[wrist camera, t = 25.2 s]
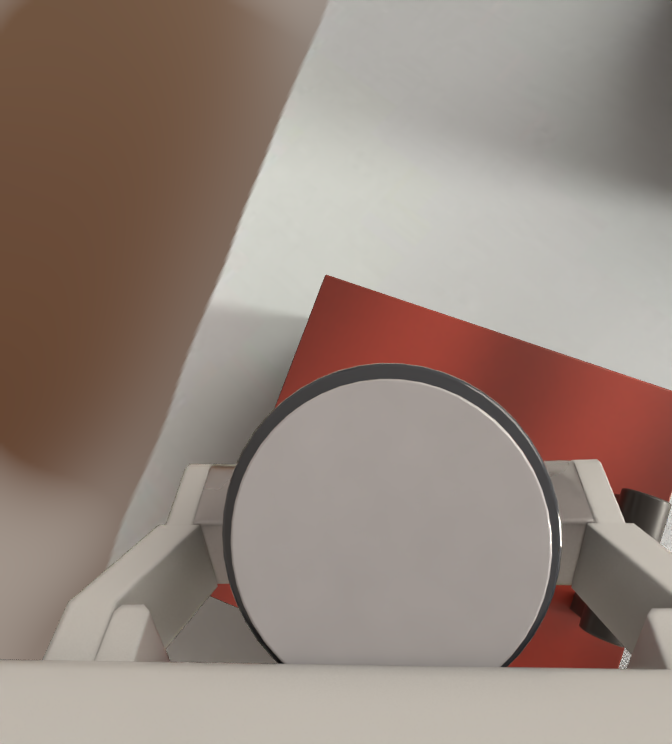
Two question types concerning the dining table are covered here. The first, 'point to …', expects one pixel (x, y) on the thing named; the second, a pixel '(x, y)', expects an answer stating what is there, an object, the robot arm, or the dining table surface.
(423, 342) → the lid
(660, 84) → the dining table surface
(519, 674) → the robot arm
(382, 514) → the cylinder
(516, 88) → the dining table surface
